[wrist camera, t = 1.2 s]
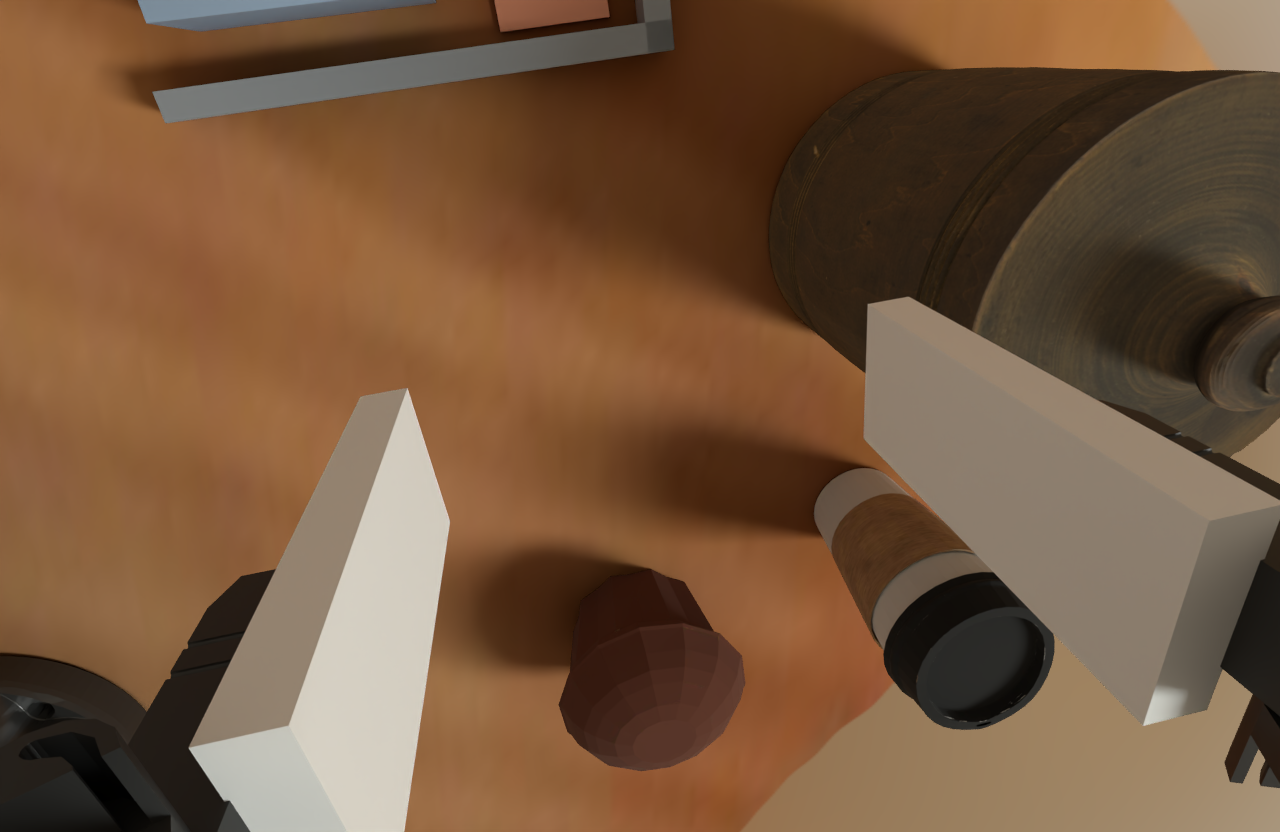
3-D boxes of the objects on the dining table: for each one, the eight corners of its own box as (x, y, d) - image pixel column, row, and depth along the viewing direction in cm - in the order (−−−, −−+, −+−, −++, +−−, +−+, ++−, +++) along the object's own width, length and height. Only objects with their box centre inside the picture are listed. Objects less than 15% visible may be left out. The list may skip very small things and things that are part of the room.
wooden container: (1008, 313, 42) (1440, 517, 22) (778, 368, 41) (1019, 632, 21) (1030, 43, 35) (1685, -4, 15) (753, 101, 34) (1077, 130, 14)
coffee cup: (797, 565, 48) (905, 751, 35) (793, 464, 44) (913, 631, 31) (909, 540, 48) (1057, 713, 35) (915, 439, 45) (1084, 590, 31)
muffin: (593, 699, 50) (610, 831, 42) (524, 600, 45) (527, 726, 36) (738, 635, 50) (786, 755, 41) (686, 528, 45) (728, 638, 36)
